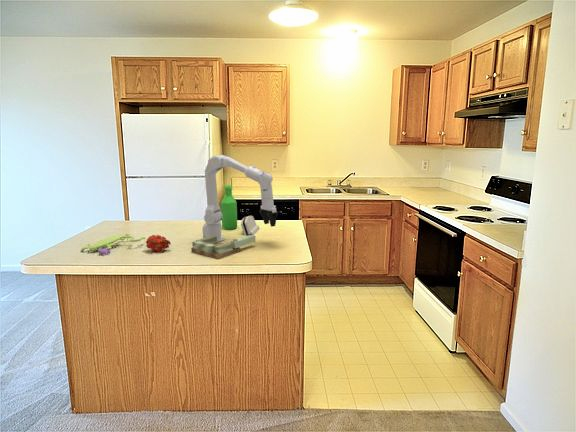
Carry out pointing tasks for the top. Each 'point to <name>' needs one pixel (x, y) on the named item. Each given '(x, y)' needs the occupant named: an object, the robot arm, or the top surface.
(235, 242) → the hinged leg
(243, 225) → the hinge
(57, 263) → the top surface
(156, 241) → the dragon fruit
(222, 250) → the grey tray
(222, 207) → the bottle
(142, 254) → the top surface
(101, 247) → the figurine
